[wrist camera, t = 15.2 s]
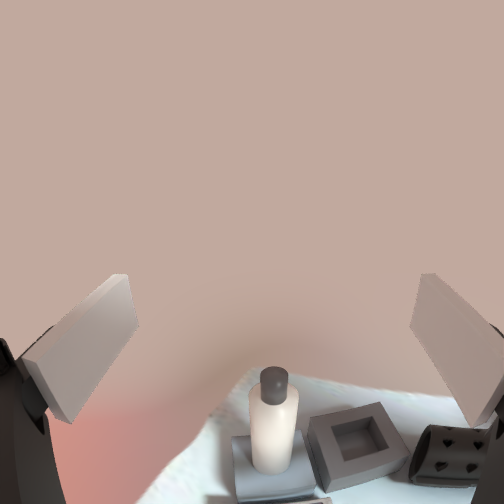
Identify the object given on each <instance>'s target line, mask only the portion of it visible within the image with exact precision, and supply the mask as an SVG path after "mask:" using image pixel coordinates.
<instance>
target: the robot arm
mask: <svg viewBox="0 0 504 504" xmlns="http://www.w3.org/2000/svg"><path fill="white" fill-rule="evenodd" d="M138 327H139V325H138V320H137V316H136V312H135V308H134V303H133V298H132V294H131V289H130V284H129V279H128V275H126V274H125V275H124V274H113V275H112V276H111V277H110V278H109V279H107V280H106V281H105V282H104V283H103V284H102V285H100V286H99V287H98V288H97V289H95V291H93V292H92V293H91V294H90V295H88V296H87V297H86V298H85V299H84V300H83V301H81V302H80V303H79V304H78V305H77V306H76V307H75V308H74V309H72V310H71V311H70V312H69V313H68V314H67V315H66V316H64V317H63V318H62V319H61V320H60V321H59V322H58V323H57V324H56V325H54V326H52V327H51V328H49V329H48V330H47V331H46V332H45V333H44V334H43V336H40V337H39V338H38V339H37V342H34V343H33V344H32V345H31V346H30V347H29V348H28V349H27V350H26V351H25V352H24V353H23V354H22V355H21V356H20V357H19V358H18V359H17V360H16V361H15V360H14V358H13V356H12V354H11V352H10V349H9V347H8V345H7V343H6V341H5V340H4V339H3V338H0V504H66V501H65V498H64V495H63V491H62V488H61V484H60V480H59V476H58V472H57V468H56V463H55V458H54V454H53V448H52V442H51V436H50V429H49V422H48V418H47V416H46V414H45V411H46V409H47V408H48V407H49V408H50V410H51V412H52V413H53V415H54V416H55V418H56V419H59V420H61V421H64V422H66V423H69V424H72V422H73V421H74V419H75V418H76V416H77V415H78V413H79V412H80V410H81V409H82V407H83V406H84V404H85V403H86V401H87V400H88V398H89V397H90V395H91V394H92V392H93V391H94V389H95V388H96V386H97V385H98V383H99V382H100V380H101V379H102V377H103V376H104V375H105V373H106V372H107V370H108V369H109V367H110V366H111V365H112V363H113V362H114V360H115V359H116V357H117V356H118V354H119V353H120V352H121V350H122V349H123V347H124V346H125V345H126V343H127V342H128V341H129V339H130V338H131V336H132V335H133V334H134V332H135V331H136V329H137V328H138ZM410 328H411V329H412V331H413V332H414V334H415V335H416V337H417V338H418V340H419V342H420V343H421V345H422V346H423V348H424V349H425V351H426V352H427V354H428V355H429V357H430V358H431V360H432V362H433V363H434V365H435V367H436V368H437V370H438V371H439V373H440V375H441V376H442V378H443V379H444V381H445V383H446V385H447V386H448V388H449V390H450V391H451V393H452V395H453V397H454V398H455V400H456V402H457V404H458V406H459V407H460V409H461V411H462V413H463V415H464V416H465V418H466V420H467V422H468V424H469V426H470V428H473V427H476V426H478V425H481V424H483V423H486V422H487V420H488V419H489V418H490V416H491V415H492V413H493V412H494V410H495V411H496V413H497V415H498V416H497V418H496V419H495V421H494V422H493V424H492V425H491V426H490V428H489V429H488V431H487V432H486V433H485V435H484V437H483V438H486V437H487V436H488V435H489V433H490V432H492V434H491V437H490V438H489V439H490V443H489V447H488V451H487V455H486V459H485V462H484V466H483V469H482V473H481V476H480V479H479V482H478V485H477V488H476V491H475V493H474V496H473V499H472V501H471V504H504V335H503V334H502V333H501V332H500V331H499V330H498V329H497V328H496V327H494V326H493V325H491V324H489V323H488V322H487V321H486V320H485V319H484V318H483V317H482V316H481V315H480V314H479V313H478V312H477V311H476V310H475V309H474V308H472V306H470V305H469V304H468V303H467V302H466V301H465V300H464V299H463V298H462V297H461V296H460V295H459V294H457V293H456V292H455V291H454V290H453V289H452V288H451V287H450V286H449V285H447V284H446V283H445V282H444V281H443V280H442V279H441V278H439V277H438V276H437V275H436V274H421V279H420V285H419V289H418V294H417V299H416V303H415V307H414V312H413V316H412V320H411V324H410Z"/></svg>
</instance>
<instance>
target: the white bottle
mask: <svg viewBox="0 0 504 504" xmlns="http://www.w3.org/2000/svg"><path fill="white" fill-rule="evenodd" d="M298 400H299V394H298V391H297V390H296V388H295V387H294V386H293V385H291V384H290V383H288V373H287V371H286V370H285V369H283V368H280V367H268V368H266V369H264V370H263V371H262V372H261V374H260V383H258V384H257V385H255V386H254V387H253V388H252V389H251V391H250V393H249V413H250V430H251V446H252V461H253V466H254V468H255V469H256V470H257V471H258V472H259V473H261V474H264V475H269V476H274V475H278V474H281V473H283V472H284V471H286V470H287V468H288V467H289V465H290V461H291V454H292V447H293V440H294V433H295V425H296V417H297V409H298Z"/></svg>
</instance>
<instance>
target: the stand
mask: <svg viewBox="0 0 504 504" xmlns="http://www.w3.org/2000/svg"><path fill="white" fill-rule="evenodd" d="M232 450H233V463H234V475H235V486H236V496H237V500H238V504H267V503H276V502H283V501H289V500H295V499H301V498H306V497H311V496H312V494H313V491H314V489H315V486H316V480H315V477H314V473H313V470H312V467H311V463H310V460H309V457H308V453H307V450H306V446H305V443H304V440H303V436H302V433H301V429H299V430H295V433H294V440H293V447H292V454H291V461H290V465H289V467H288V468H287V470H286V471H284V472H283V473H281V474H278V475H274V476H269V475H264V474H261V473H259V472H258V471H257V470H256V469H255V468H254V466H253V461H252V446H251V435H250V436H237V437H232Z"/></svg>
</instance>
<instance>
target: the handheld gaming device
mask: <svg viewBox="0 0 504 504" xmlns="http://www.w3.org/2000/svg"><path fill="white" fill-rule="evenodd" d="M283 504H332V500H331V498H330V497H327V498H321V499H315V500H308V501H301V502H293V503H283Z"/></svg>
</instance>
